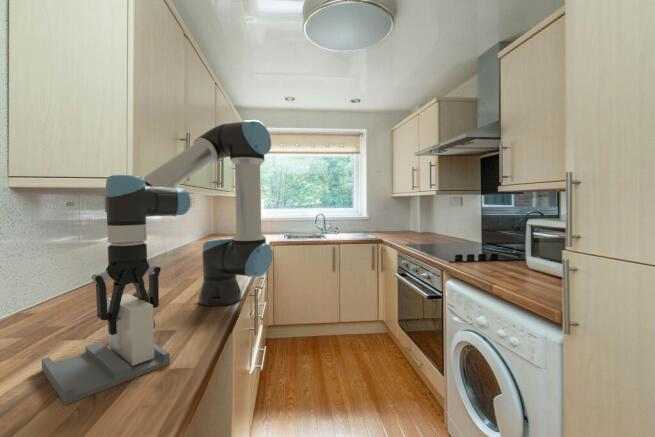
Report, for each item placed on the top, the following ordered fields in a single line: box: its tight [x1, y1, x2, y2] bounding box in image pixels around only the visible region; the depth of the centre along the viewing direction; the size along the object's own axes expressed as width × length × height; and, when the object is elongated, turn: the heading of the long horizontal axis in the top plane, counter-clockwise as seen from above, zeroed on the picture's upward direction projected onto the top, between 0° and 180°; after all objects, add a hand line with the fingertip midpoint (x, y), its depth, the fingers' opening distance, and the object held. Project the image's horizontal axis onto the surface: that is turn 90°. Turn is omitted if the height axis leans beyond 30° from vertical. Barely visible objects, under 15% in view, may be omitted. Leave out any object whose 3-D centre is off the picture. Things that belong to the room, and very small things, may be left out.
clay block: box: [107, 293, 155, 366], centre depth 72 cm, size 4×14×12 cm, turn 52°
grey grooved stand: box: [41, 341, 171, 406], centre depth 68 cm, size 18×19×2 cm
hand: (130, 342), depth 72 cm, fingers closed on clay block, 4 cm apart
